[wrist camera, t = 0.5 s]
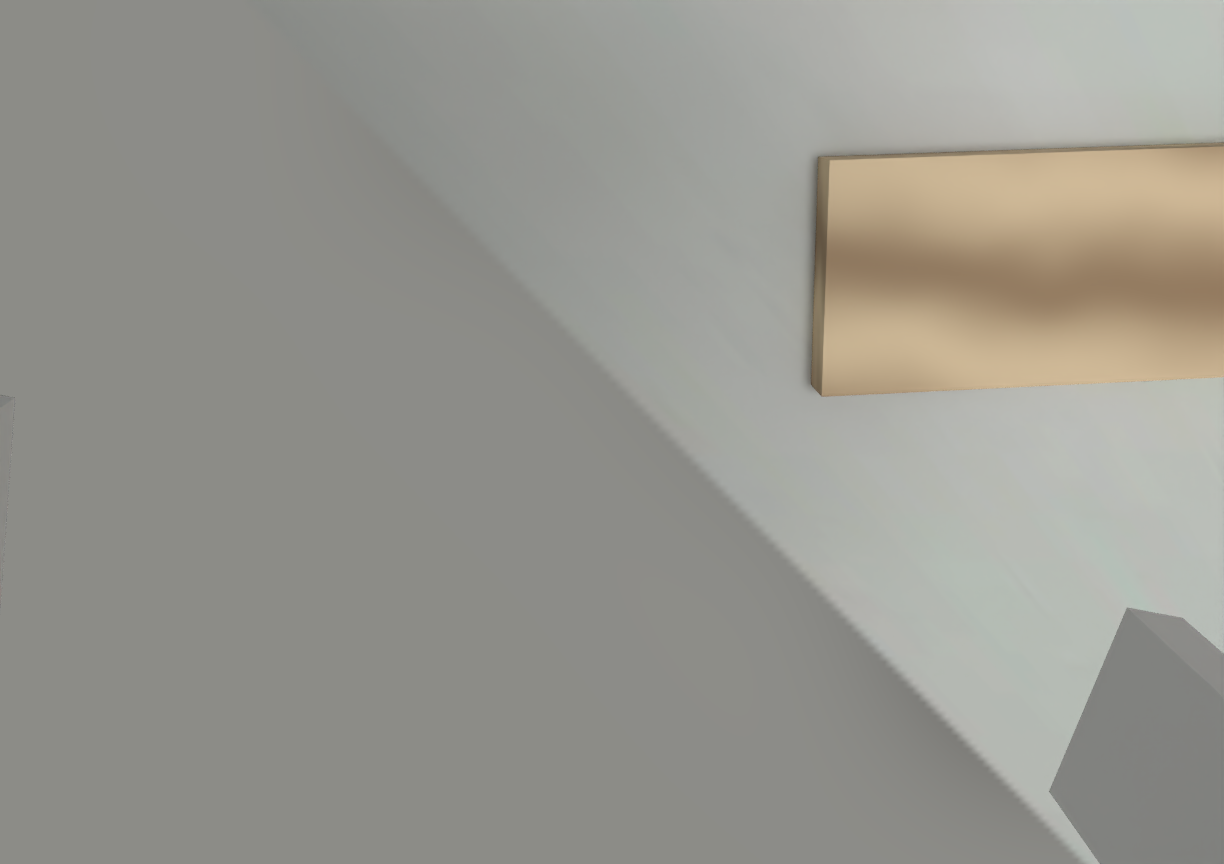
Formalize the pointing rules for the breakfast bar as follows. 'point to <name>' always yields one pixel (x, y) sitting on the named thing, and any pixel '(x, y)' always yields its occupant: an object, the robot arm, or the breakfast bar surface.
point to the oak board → (1018, 268)
